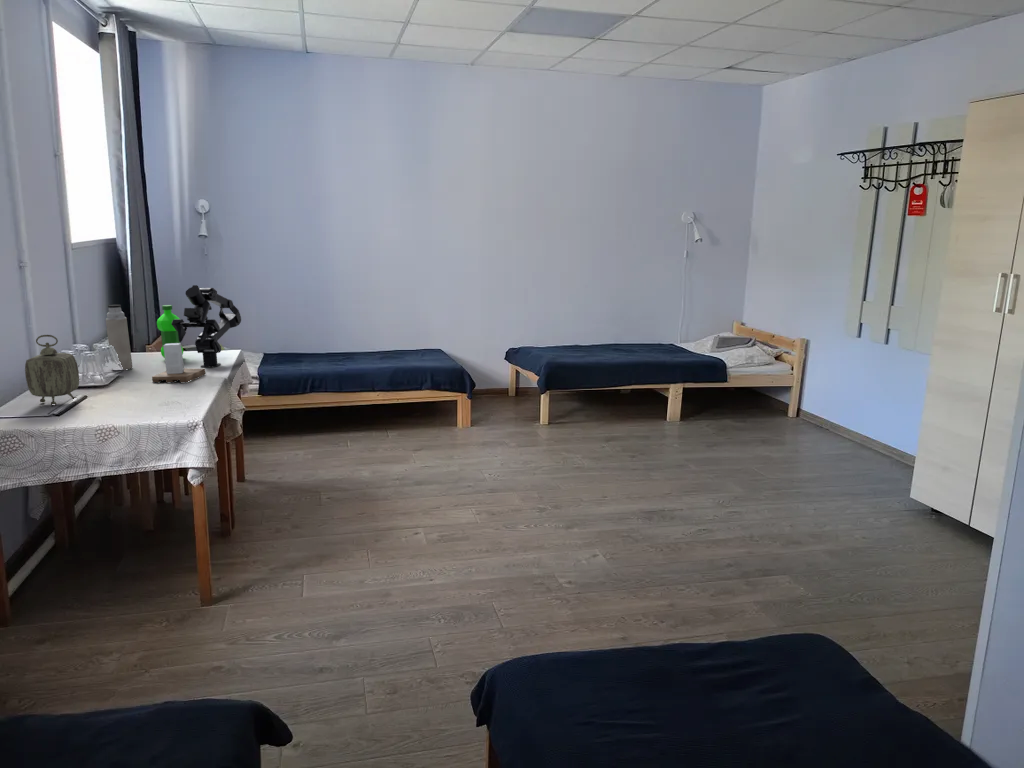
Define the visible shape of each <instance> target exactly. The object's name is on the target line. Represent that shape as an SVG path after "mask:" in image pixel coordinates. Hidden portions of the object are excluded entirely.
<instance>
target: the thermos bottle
mask: <svg viewBox="0 0 1024 768" xmlns="http://www.w3.org/2000/svg"><path fill="white" fill-rule="evenodd" d="M107 307H108V312H107V313H106V318H105V324H106V325H105V326H106V333H107V339H108V340H107V341H108V346H109V345H112V346H114V347H115V349H116V352H117V354H118V358H119V361H120V362H121V365H122V367H123V369H125V370H124V371H127V370H126V369H129V370H131V369H130V368H132V367H134V366H133V360H132V351H131V344H130V343H131V342H130V336H129V328H128V320H127V319H128V318H127V317H126V316H125V312H123V311H122V305H121V304H109V305H107ZM132 369H133V368H132Z"/></svg>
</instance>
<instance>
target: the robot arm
mask: <svg viewBox="0 0 1024 768" xmlns="http://www.w3.org/2000/svg"><path fill="white" fill-rule="evenodd" d="M185 296H186V298H187V299H188V300H189V302H190V303H191V305H192V306H194V307H184V308H183V309H184V310H183V317H186V320H187V321H184V319H181V318H179V319H174V320H173V321H172V323H171V324H172V326H173V327H174V328H175V330H176V331H178V337H179V342H180V343H182V341H183V340H184V338H185V336H186V334H187V329H188V328H194V329H195V328H196V329H203V331H202V332H200V334H199V335H197V338H195V341H194V345H195V348H196V351H197V353H198V354H202V359H203V361H202V362H203V364H202V365H200V368H215V367H218V366H220V365H222V363H221V362H219V363H218V355H217V354H219V353H221V352H222V346H221V344H220V343H219V342H218V341H219V340H220V339H221V338H222V337H223V336H224V335H225V334H226V333H227V332H228V331H229V330H230V329H233V328H236V327H238V326H239V325H240V324H241V322H242V316H241V313H240V310H239V308H237V307H236V306H235V305H234V302H233V300H232V299H229V298H227V297H224V296H223V295H221V294H219V293H218V291H217V290H216V289H215V288H214V287H199V286H198V285H195V284H193V285H192V286H190V287H189V288H188V289H186V290H185ZM210 303H211V304H214V305H216V306H218V307H219V309H220V310H219V312H218V317H219V319H220V320H219V321H220V322H219V323H218V322H217V320H216V319H213V318H212V319H208V318H209V317H208V313H209V311H212V306H211V304H210ZM224 309H229V310H230V312H224Z"/></svg>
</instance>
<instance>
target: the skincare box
mask: <svg viewBox="0 0 1024 768" xmlns="http://www.w3.org/2000/svg"><path fill="white" fill-rule="evenodd" d="M181 346H182V342H180V343H171V344H165V345H163V347H164V355H165V358H164V363H165V371H167V374H179V373H183V372H184V368H185V367H184V366H185V365H184V358H183V357H184V356H183V355H182V348H183V347H182V348H181Z"/></svg>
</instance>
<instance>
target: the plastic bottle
mask: <svg viewBox="0 0 1024 768" xmlns="http://www.w3.org/2000/svg"><path fill="white" fill-rule="evenodd" d="M161 307H162V311H163V314H162V315H161V316H159V318H157V321H156V327H157V330H159V331H160V337H161V344H162V346H161V348H160V355H161V356H162V357H163V358H164V359H165V355H164V347H163V345H165V344H171V343H181V342H179V337H178V331H176V330H175V328H174V327H173V326H172V324H171V323H172V321H173V320H174V319H180V317H179V316H177V315H176V314H174V313H173V312H172V310H173V305H172V304H164V305H161ZM181 348H182V356H183V355H184V348H183V346H182V345H181Z"/></svg>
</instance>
